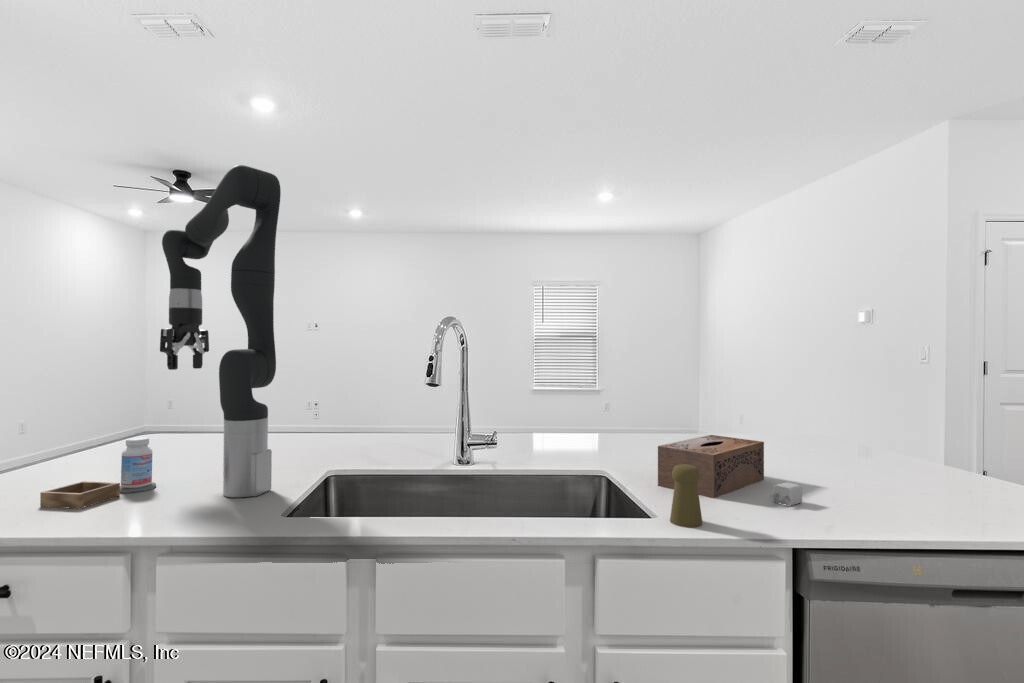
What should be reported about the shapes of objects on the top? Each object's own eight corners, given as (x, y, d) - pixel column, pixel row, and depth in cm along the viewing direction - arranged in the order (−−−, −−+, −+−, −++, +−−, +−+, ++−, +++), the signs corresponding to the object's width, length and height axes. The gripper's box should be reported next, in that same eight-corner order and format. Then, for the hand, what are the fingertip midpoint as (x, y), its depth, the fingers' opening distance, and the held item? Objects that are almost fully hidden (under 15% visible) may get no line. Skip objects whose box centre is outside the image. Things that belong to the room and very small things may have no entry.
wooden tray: (119, 496, 122) (119, 482, 122) (79, 508, 113) (79, 494, 113) (83, 494, 124) (83, 481, 124) (40, 506, 114) (40, 492, 114)
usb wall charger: (802, 504, 117) (802, 485, 117) (783, 509, 113) (783, 490, 113) (784, 499, 120) (784, 481, 120) (766, 504, 117) (766, 485, 117)
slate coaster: (164, 485, 132) (164, 482, 132) (136, 494, 124) (136, 491, 124) (135, 483, 133) (135, 481, 133) (106, 492, 125) (106, 489, 125)
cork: (665, 517, 107) (665, 462, 107) (694, 516, 108) (694, 461, 108) (677, 527, 101) (676, 469, 101) (708, 526, 102) (708, 468, 102)
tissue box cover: (711, 471, 149) (711, 434, 149) (763, 480, 138) (763, 441, 138) (657, 487, 132) (657, 446, 132) (713, 499, 121) (713, 455, 121)
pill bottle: (135, 490, 125) (136, 441, 125) (114, 488, 126) (115, 440, 126) (158, 483, 131) (159, 437, 131) (137, 482, 132) (138, 436, 132)
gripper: (177, 304, 134) (177, 370, 134) (217, 308, 148) (217, 368, 148) (151, 305, 135) (150, 370, 135) (193, 309, 149) (192, 368, 149)
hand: (185, 369), depth 141 cm, fingers open, 8 cm apart
